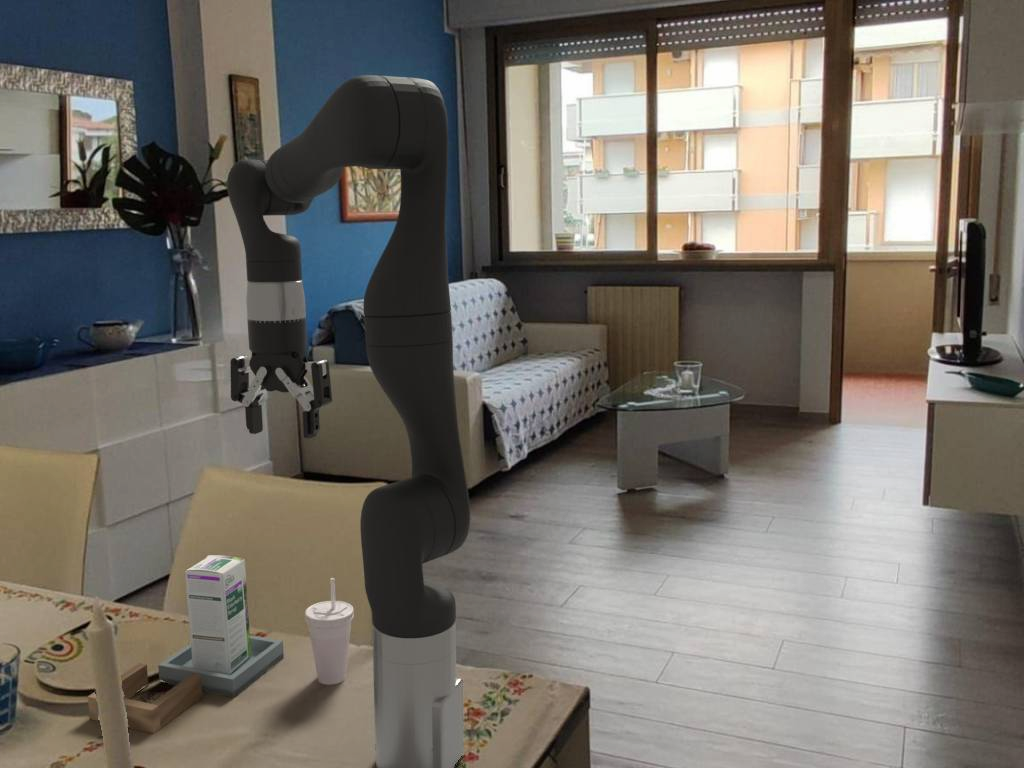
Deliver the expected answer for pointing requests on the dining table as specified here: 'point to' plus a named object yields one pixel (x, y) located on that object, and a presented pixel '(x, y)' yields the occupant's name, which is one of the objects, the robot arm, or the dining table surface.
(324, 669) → the smoothie
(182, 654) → the tray
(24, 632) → the dining table surface
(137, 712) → the holder
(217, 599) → the syrup box
